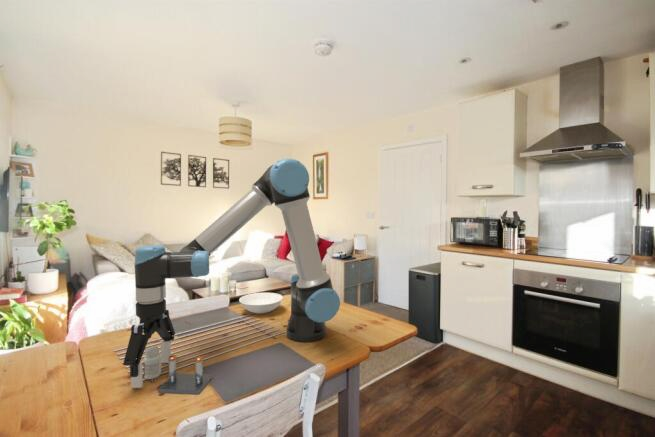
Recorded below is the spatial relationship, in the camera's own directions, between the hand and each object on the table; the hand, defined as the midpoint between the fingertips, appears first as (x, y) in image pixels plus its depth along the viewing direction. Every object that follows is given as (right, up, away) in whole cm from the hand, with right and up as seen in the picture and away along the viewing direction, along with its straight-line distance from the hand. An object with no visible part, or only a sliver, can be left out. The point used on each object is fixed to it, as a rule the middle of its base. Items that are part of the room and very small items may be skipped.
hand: (152, 373), depth 93 cm
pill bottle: (0, -1, 0) cm, 1 cm away
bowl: (+20, +1, +56) cm, 59 cm away
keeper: (+12, -1, -5) cm, 13 cm away
